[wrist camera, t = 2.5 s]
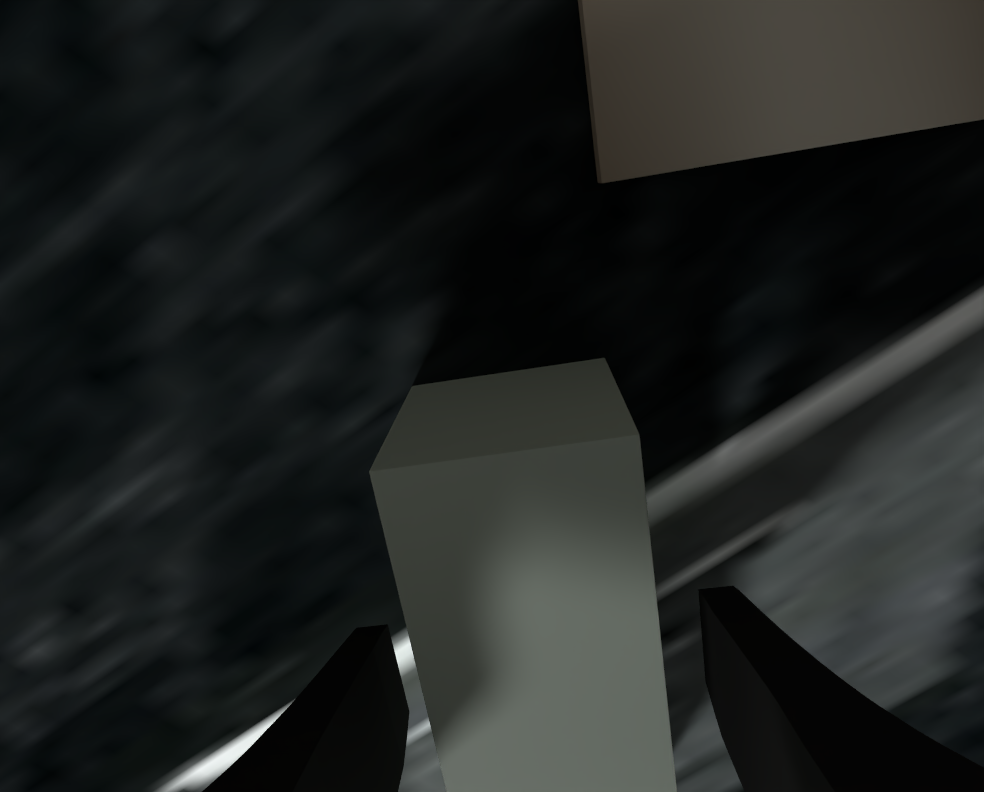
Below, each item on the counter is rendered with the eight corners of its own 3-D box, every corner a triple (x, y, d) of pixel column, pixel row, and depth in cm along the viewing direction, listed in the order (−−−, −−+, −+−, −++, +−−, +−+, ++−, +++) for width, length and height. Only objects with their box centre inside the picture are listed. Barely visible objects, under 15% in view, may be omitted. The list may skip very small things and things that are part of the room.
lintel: (603, 355, 13) (639, 434, 9) (652, 769, 16) (694, 962, 12) (414, 382, 13) (369, 471, 9) (497, 783, 16) (491, 975, 12)
